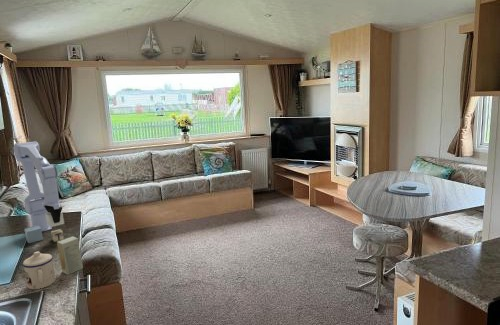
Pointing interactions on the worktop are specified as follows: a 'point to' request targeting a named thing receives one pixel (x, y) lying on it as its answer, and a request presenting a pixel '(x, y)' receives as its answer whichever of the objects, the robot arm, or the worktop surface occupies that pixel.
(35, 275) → the teacup with lid
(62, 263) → the skincare box
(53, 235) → the letter cube
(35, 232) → the cover
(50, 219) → the cover
